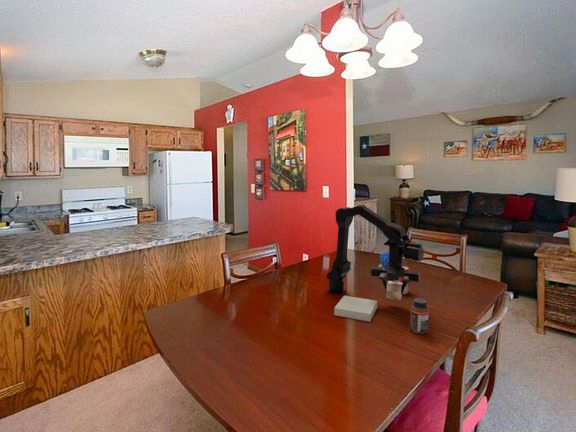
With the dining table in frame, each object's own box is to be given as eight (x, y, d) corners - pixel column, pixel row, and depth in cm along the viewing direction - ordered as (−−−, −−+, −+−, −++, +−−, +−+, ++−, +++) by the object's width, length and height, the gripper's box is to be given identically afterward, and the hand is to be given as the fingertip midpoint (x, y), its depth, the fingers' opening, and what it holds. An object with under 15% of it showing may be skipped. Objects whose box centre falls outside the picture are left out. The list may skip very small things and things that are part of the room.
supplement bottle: (406, 327, 120) (408, 297, 119) (422, 326, 121) (424, 296, 119) (414, 335, 114) (415, 304, 113) (431, 334, 115) (432, 303, 113)
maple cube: (386, 297, 136) (386, 285, 135) (388, 293, 141) (388, 280, 140) (400, 300, 134) (400, 286, 133) (401, 295, 139) (402, 282, 138)
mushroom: (366, 257, 185) (390, 243, 180) (381, 276, 187) (404, 262, 182) (368, 270, 172) (394, 255, 167) (384, 289, 174) (409, 275, 169)
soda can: (410, 295, 150) (411, 270, 148) (394, 294, 151) (395, 269, 150) (407, 290, 157) (409, 265, 155) (392, 289, 158) (393, 264, 156)
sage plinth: (334, 315, 131) (334, 307, 130) (344, 302, 143) (344, 295, 143) (370, 321, 125) (370, 314, 124) (377, 307, 137) (377, 300, 137)
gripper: (368, 259, 132) (367, 296, 134) (418, 264, 124) (416, 304, 126) (373, 253, 142) (372, 288, 144) (420, 257, 134) (418, 294, 136)
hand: (394, 293), depth 137 cm, fingers closed on maple cube, 5 cm apart
